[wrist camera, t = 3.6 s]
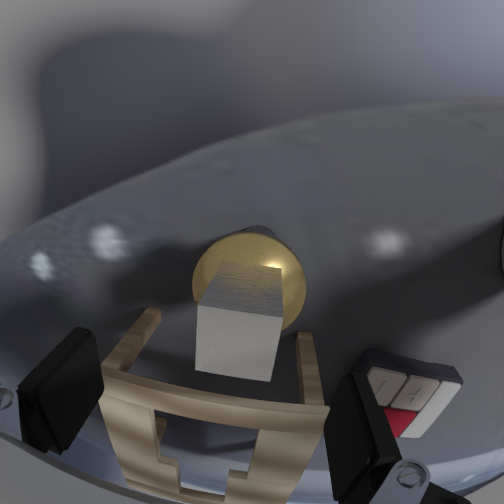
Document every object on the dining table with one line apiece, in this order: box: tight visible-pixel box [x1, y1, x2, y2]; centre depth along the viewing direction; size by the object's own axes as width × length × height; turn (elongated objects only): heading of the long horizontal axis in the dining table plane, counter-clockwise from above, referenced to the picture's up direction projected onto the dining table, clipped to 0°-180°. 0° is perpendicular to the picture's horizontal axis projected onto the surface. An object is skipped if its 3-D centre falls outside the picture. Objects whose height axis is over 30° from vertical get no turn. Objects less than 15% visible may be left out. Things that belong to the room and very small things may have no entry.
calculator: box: [330, 349, 463, 439], centre depth 30 cm, size 11×4×15 cm
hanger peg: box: [192, 226, 306, 382], centre depth 20 cm, size 7×7×16 cm
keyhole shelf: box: [98, 307, 330, 504], centre depth 27 cm, size 20×18×12 cm
